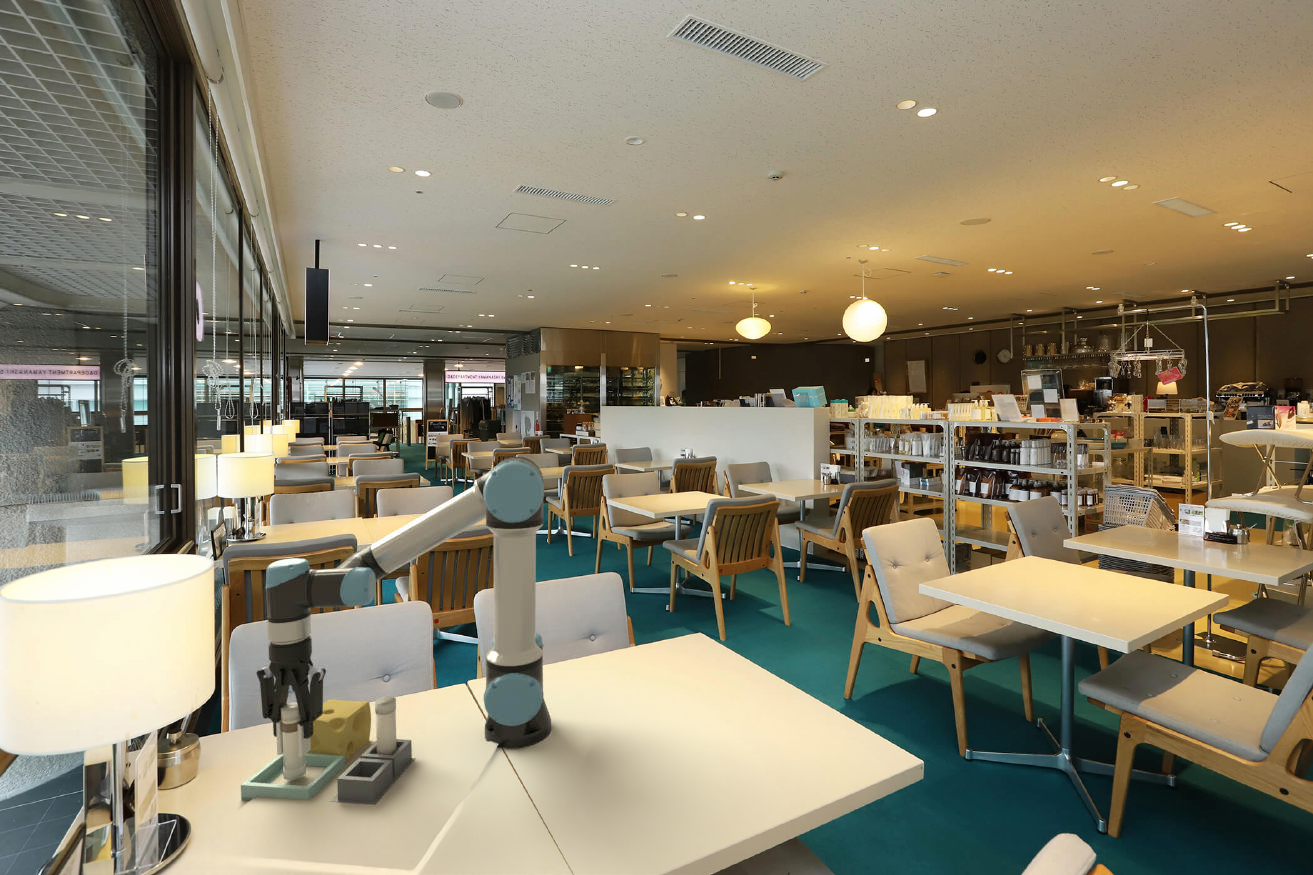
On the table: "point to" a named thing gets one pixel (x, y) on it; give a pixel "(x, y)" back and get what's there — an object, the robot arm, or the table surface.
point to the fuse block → (376, 761)
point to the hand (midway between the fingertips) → (294, 751)
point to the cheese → (341, 728)
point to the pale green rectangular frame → (271, 771)
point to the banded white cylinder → (291, 743)
